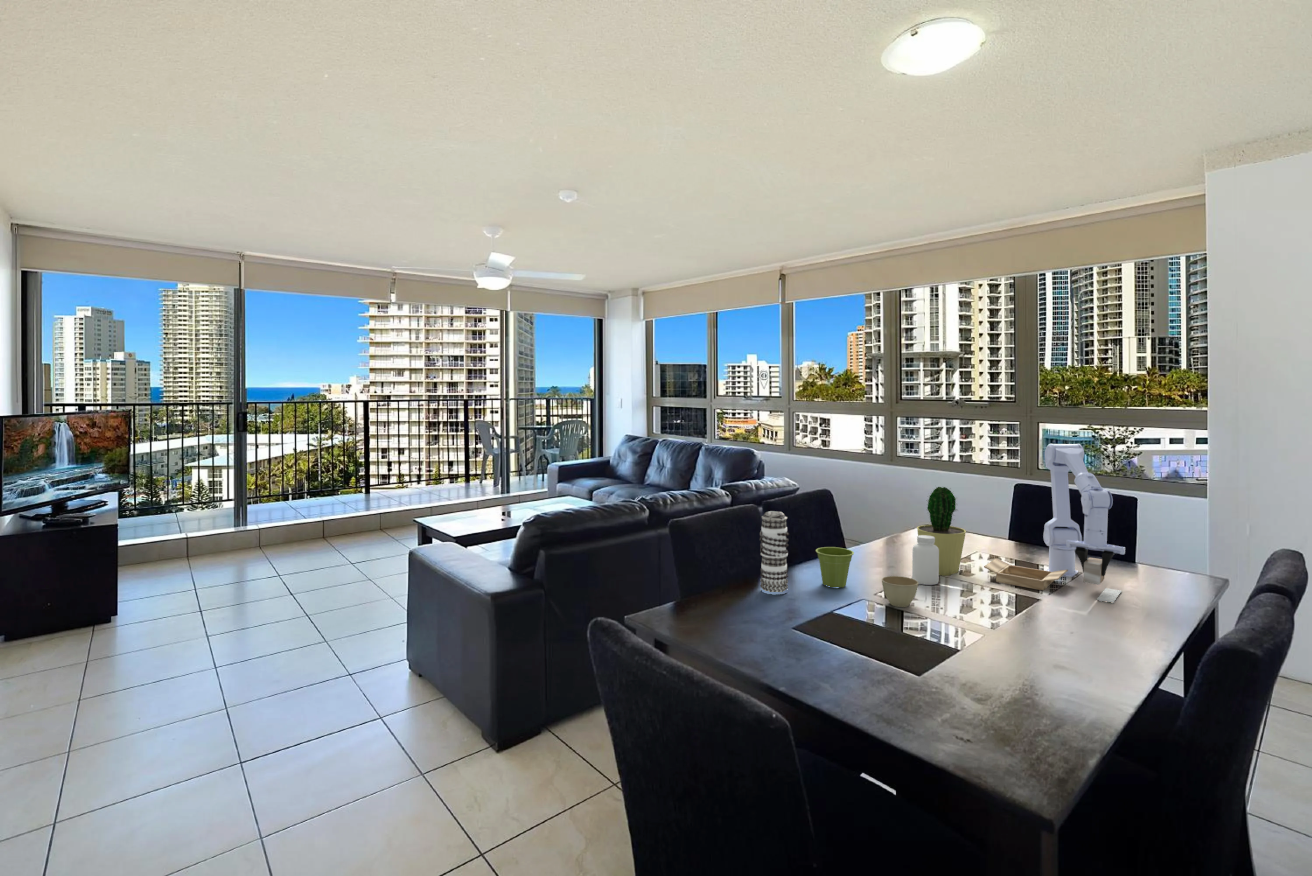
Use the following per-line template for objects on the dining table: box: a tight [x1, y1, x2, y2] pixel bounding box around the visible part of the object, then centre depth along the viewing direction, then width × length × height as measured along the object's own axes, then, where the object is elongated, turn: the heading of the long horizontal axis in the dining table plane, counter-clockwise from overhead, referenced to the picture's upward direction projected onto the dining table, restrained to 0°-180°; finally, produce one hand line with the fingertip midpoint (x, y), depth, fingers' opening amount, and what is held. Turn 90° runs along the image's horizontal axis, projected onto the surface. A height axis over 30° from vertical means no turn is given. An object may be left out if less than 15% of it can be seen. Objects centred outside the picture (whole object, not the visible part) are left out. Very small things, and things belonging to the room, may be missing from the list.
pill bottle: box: [911, 535, 940, 586], centre depth 203 cm, size 8×8×15 cm
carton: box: [983, 558, 1068, 591], centre depth 200 cm, size 13×21×5 cm, turn 46°
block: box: [1082, 557, 1105, 586], centre depth 189 cm, size 8×4×6 cm, turn 135°
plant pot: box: [815, 546, 855, 588], centre depth 200 cm, size 12×12×11 cm
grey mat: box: [1095, 587, 1122, 604], centre depth 189 cm, size 14×12×1 cm
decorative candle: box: [759, 510, 790, 592], centre depth 195 cm, size 9×9×25 cm
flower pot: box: [881, 575, 919, 608], centre depth 182 cm, size 10×10×7 cm
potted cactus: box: [916, 486, 967, 577], centre depth 214 cm, size 15×15×30 cm
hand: (1094, 573), depth 189 cm, fingers closed on block, 4 cm apart
